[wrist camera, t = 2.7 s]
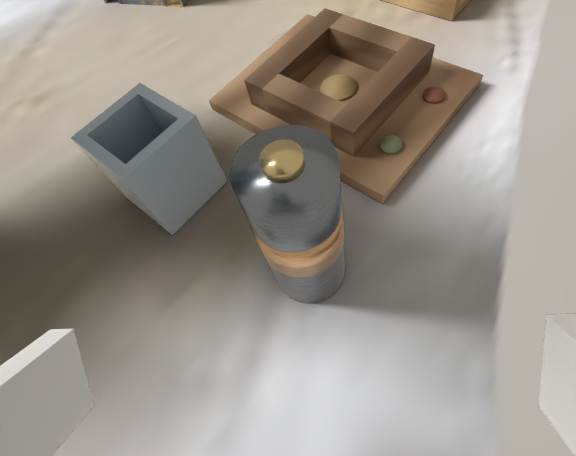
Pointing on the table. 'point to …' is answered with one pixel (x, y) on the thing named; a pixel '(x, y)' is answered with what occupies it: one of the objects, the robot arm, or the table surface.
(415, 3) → the trough
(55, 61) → the table surface
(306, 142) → the cell
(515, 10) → the table surface
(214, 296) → the table surface
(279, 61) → the cradle
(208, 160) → the cup
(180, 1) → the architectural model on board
